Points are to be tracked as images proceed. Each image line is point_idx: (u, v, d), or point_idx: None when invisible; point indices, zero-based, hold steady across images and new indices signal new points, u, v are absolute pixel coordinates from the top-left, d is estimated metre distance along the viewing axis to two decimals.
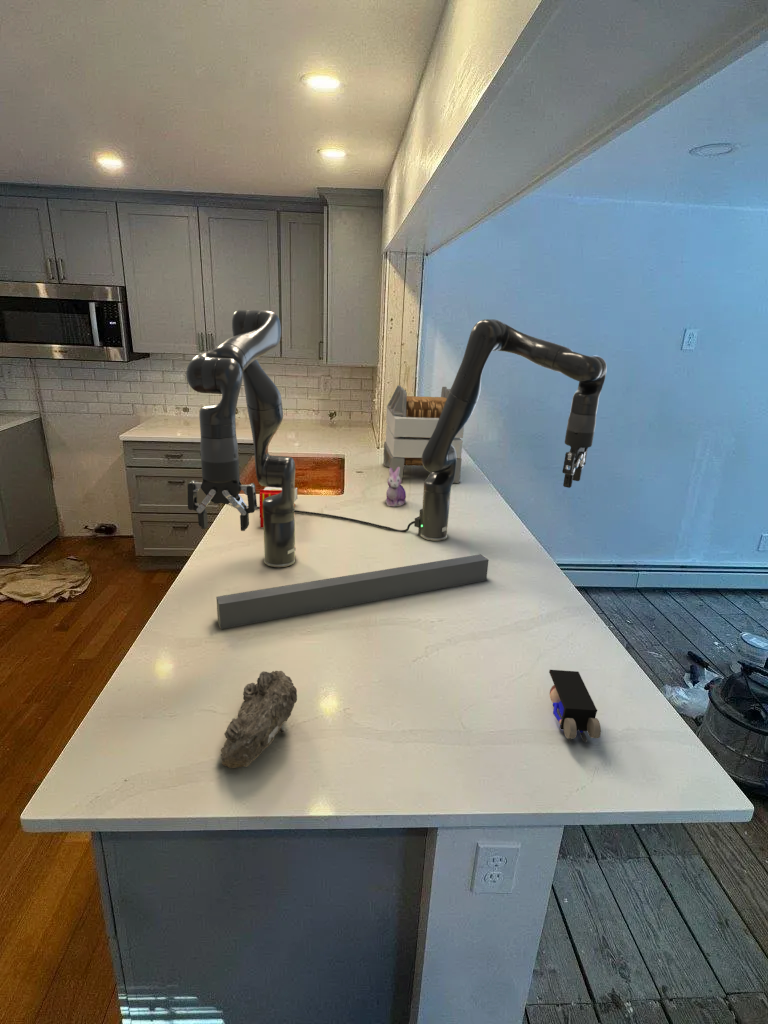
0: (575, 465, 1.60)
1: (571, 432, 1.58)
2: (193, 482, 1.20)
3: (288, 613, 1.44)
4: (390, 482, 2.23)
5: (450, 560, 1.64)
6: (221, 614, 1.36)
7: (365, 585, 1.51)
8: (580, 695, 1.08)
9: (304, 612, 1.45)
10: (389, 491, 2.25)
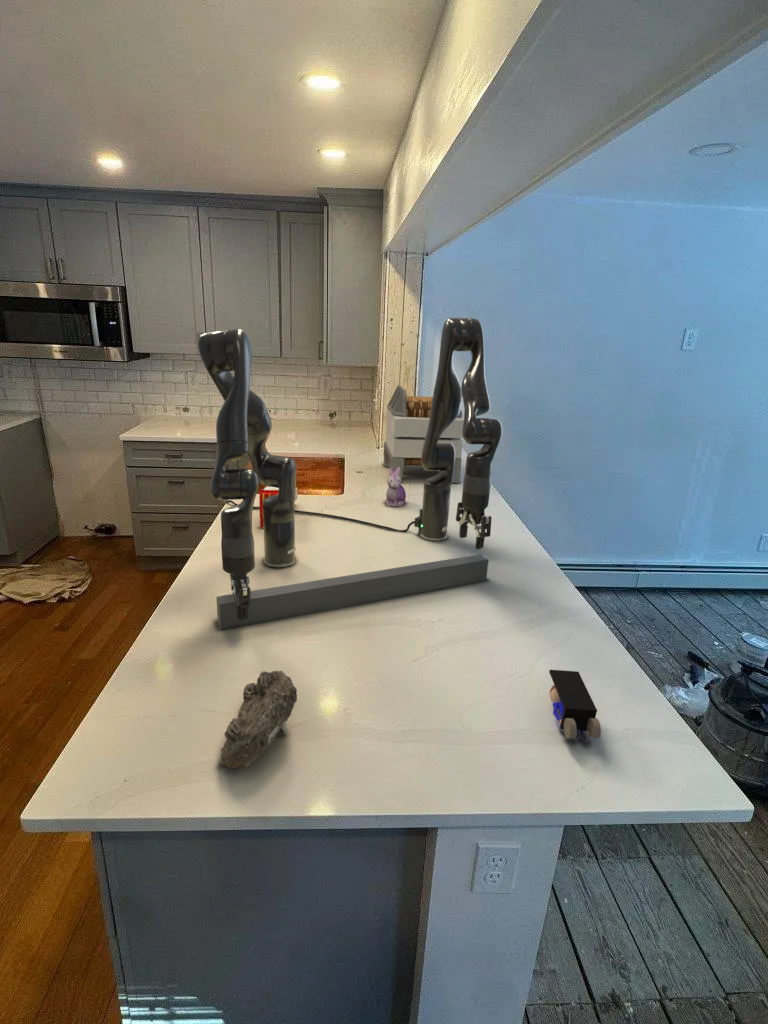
0: None
1: (478, 496, 1.55)
2: (245, 587, 1.32)
3: (288, 613, 1.44)
4: (390, 482, 2.23)
5: (450, 560, 1.64)
6: (221, 614, 1.36)
7: (365, 585, 1.51)
8: (580, 695, 1.08)
9: (304, 612, 1.45)
10: (389, 491, 2.25)
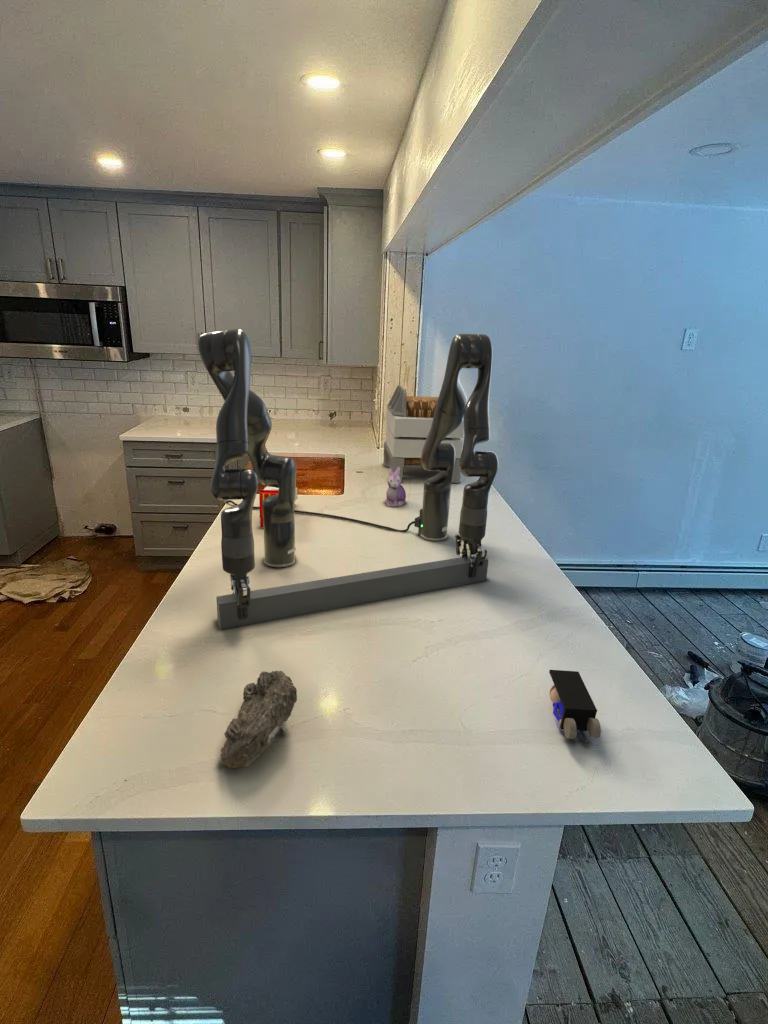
0: None
1: (474, 527, 1.58)
2: (245, 587, 1.32)
3: (288, 613, 1.44)
4: (390, 482, 2.23)
5: (450, 560, 1.64)
6: (221, 614, 1.36)
7: (365, 585, 1.51)
8: (580, 695, 1.08)
9: (304, 612, 1.45)
10: (389, 491, 2.25)
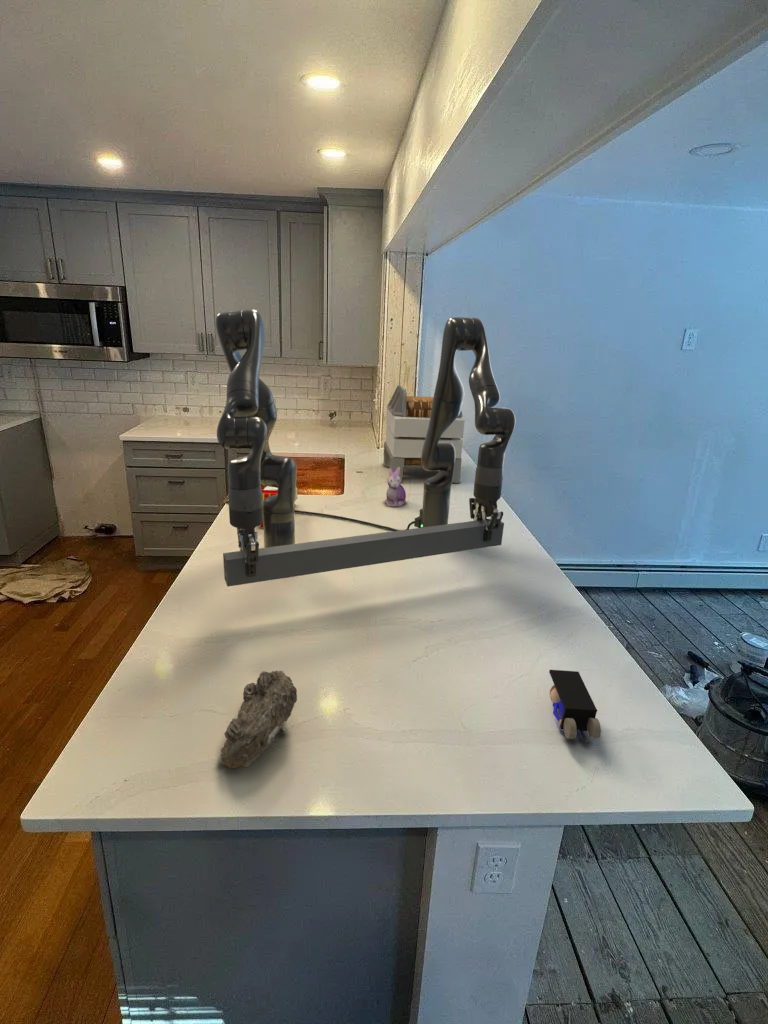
0: None
1: (490, 487, 1.52)
2: (253, 542, 1.26)
3: (297, 572, 1.38)
4: (390, 482, 2.23)
5: (464, 523, 1.58)
6: (228, 571, 1.31)
7: (377, 546, 1.45)
8: (580, 695, 1.08)
9: (314, 572, 1.40)
10: (389, 491, 2.25)
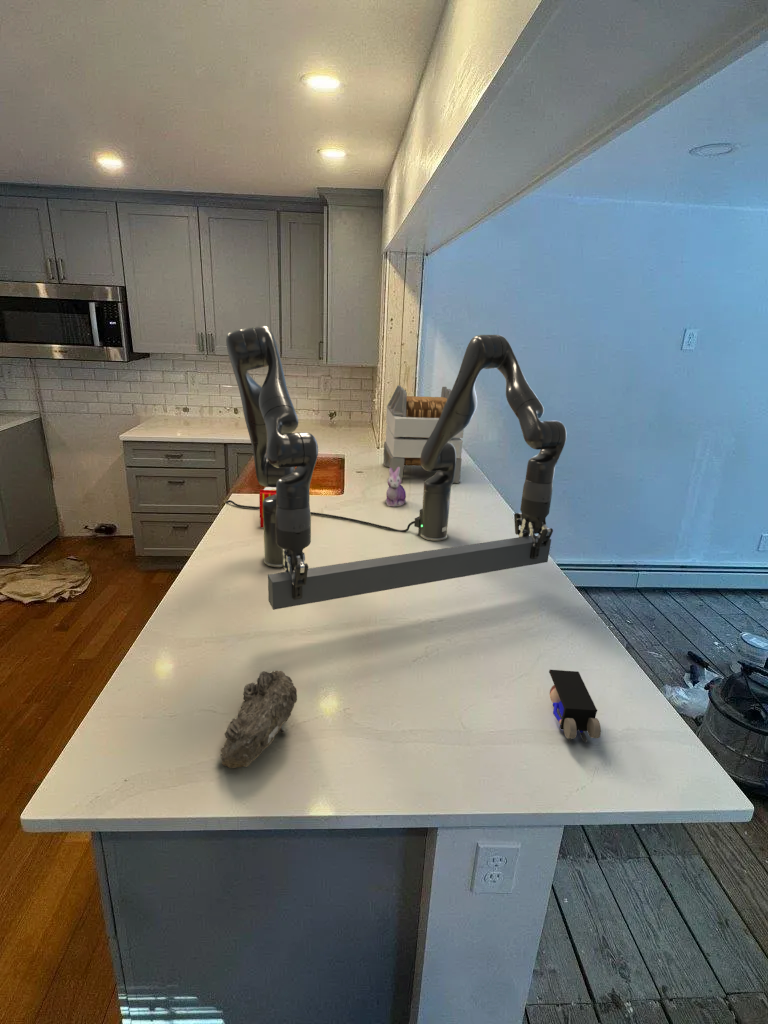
0: None
1: (539, 503, 1.46)
2: (302, 564, 1.20)
3: (344, 593, 1.32)
4: (390, 482, 2.23)
5: (510, 540, 1.53)
6: (274, 593, 1.25)
7: (424, 565, 1.39)
8: (580, 695, 1.08)
9: (360, 593, 1.34)
10: (389, 491, 2.25)
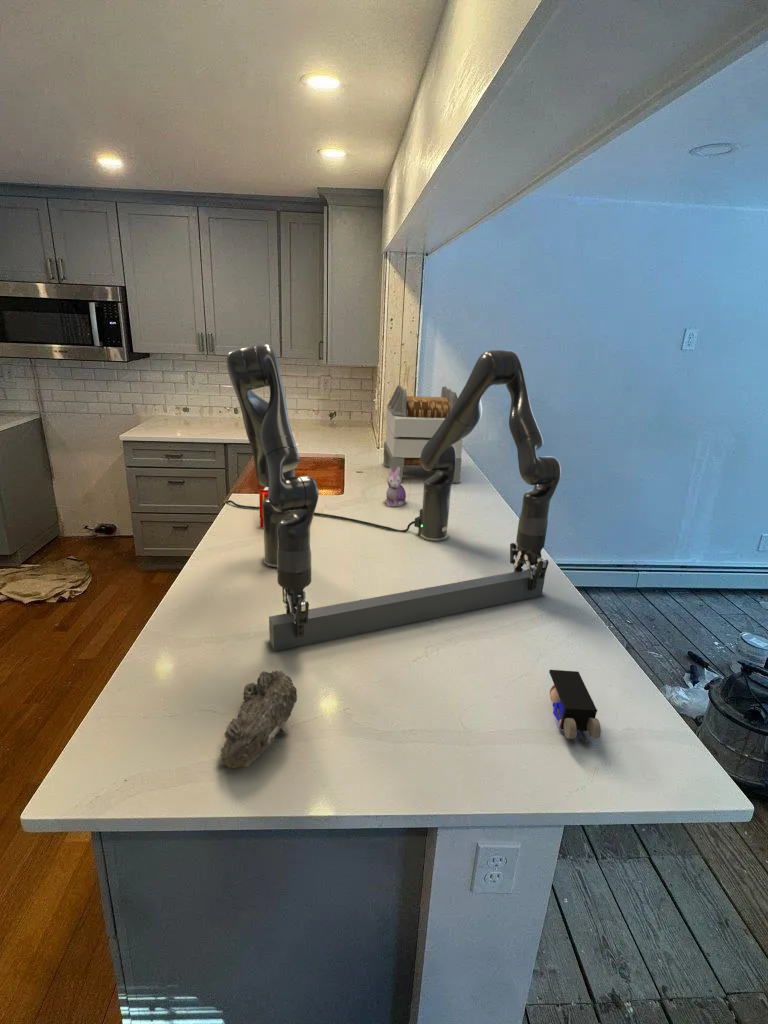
0: None
1: (535, 537, 1.49)
2: (303, 602, 1.23)
3: (343, 633, 1.36)
4: (390, 482, 2.23)
5: (505, 575, 1.56)
6: (275, 635, 1.28)
7: (421, 603, 1.43)
8: (580, 695, 1.08)
9: (359, 632, 1.38)
10: (389, 491, 2.25)
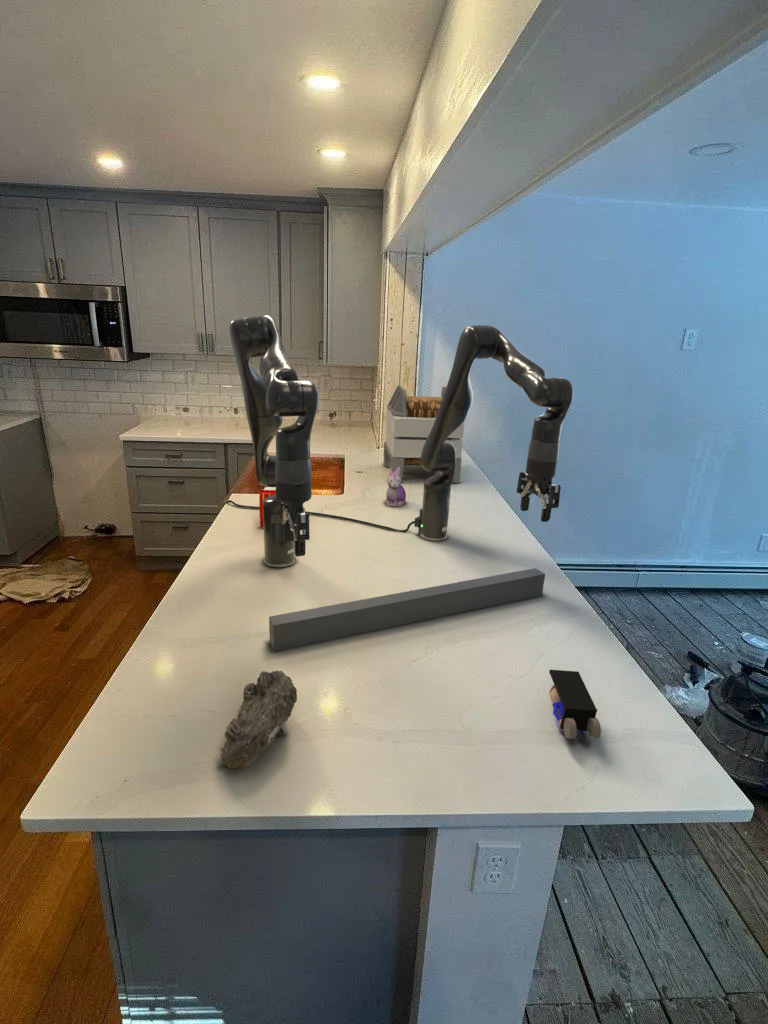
0: None
1: (546, 463, 1.43)
2: (302, 512, 1.16)
3: (343, 633, 1.36)
4: (390, 482, 2.23)
5: (505, 575, 1.56)
6: (275, 635, 1.28)
7: (421, 603, 1.43)
8: (580, 695, 1.08)
9: (359, 632, 1.38)
10: (389, 491, 2.25)
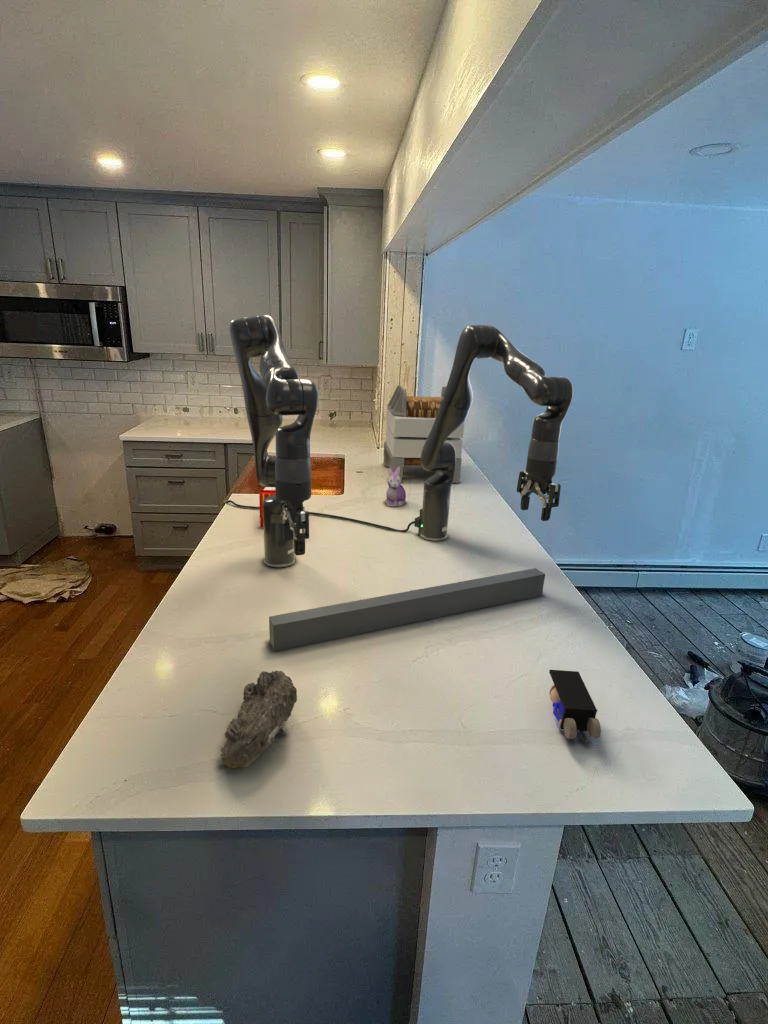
0: None
1: (546, 462, 1.43)
2: (302, 511, 1.16)
3: (343, 633, 1.36)
4: (390, 482, 2.23)
5: (505, 575, 1.56)
6: (275, 635, 1.28)
7: (421, 603, 1.43)
8: (580, 695, 1.08)
9: (359, 632, 1.38)
10: (389, 491, 2.25)
